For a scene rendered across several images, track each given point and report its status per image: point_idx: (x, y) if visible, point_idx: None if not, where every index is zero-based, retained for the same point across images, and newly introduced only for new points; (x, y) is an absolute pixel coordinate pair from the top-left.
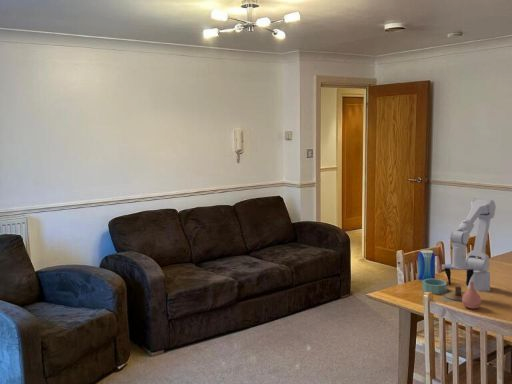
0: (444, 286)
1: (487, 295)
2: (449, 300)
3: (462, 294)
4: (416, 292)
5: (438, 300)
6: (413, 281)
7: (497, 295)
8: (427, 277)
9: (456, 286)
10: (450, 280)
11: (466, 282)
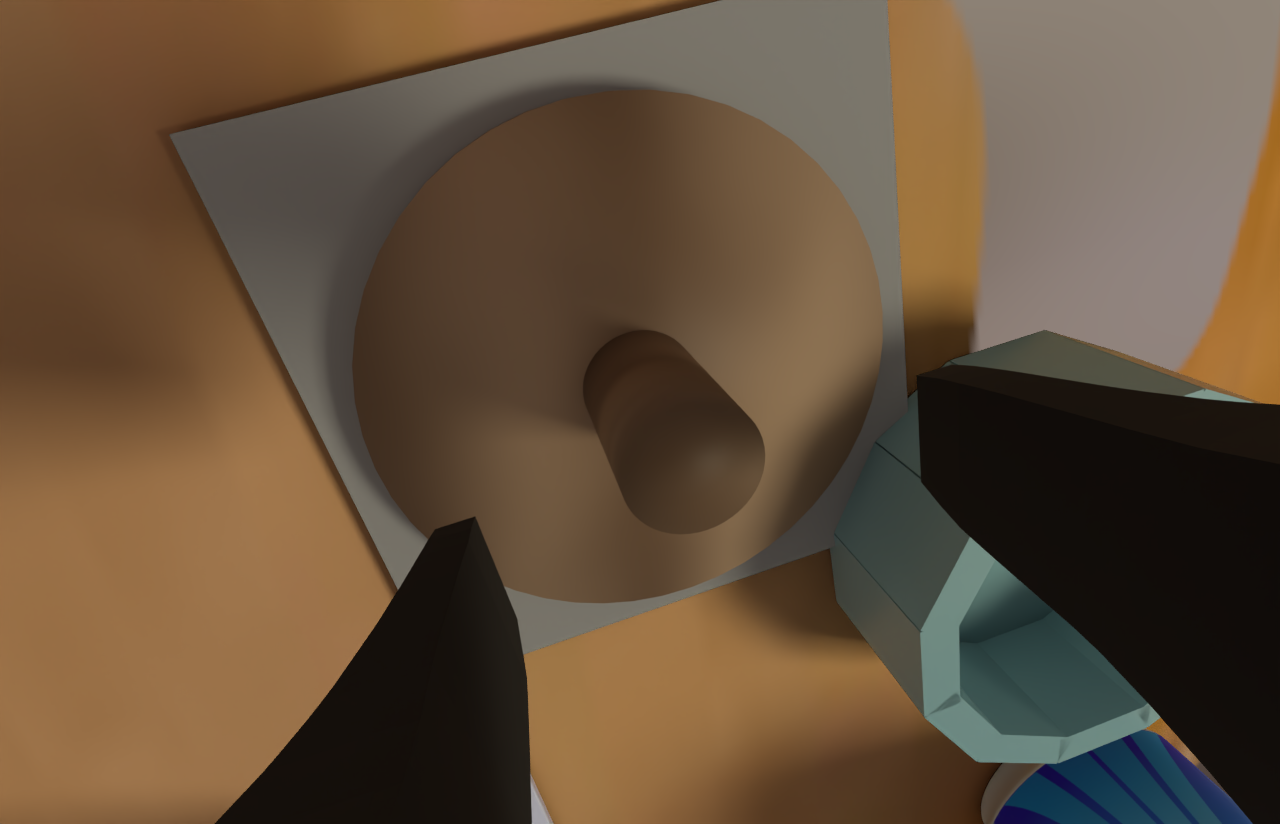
0: (943, 522)
1: (179, 722)
2: (771, 66)
3: (571, 470)
4: (1244, 322)
5: (963, 38)
6: None
7: (17, 803)
8: (1127, 791)
9: (741, 488)
10: (1041, 402)
11: (505, 641)
